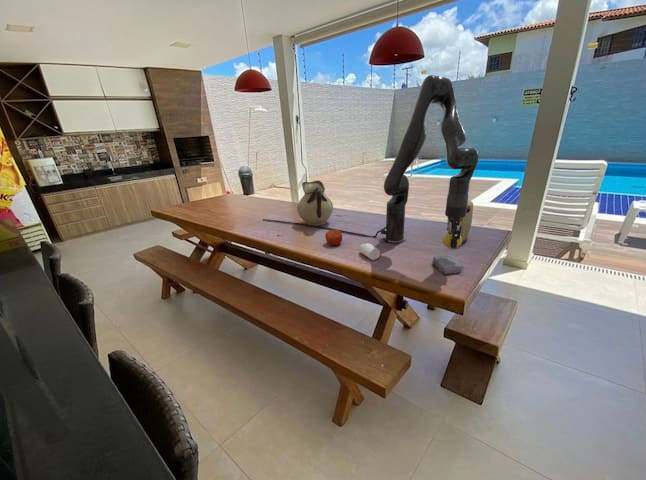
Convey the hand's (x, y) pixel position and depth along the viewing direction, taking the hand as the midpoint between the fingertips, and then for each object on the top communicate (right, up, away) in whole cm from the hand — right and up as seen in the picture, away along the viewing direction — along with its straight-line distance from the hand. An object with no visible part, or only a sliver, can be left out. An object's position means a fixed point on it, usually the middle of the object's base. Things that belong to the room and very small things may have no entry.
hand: (451, 244), depth 124 cm
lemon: (0, -1, 0) cm, 1 cm away
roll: (-31, -4, +21) cm, 38 cm away
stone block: (0, -9, +5) cm, 11 cm away
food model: (+17, +4, +31) cm, 36 cm away
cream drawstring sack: (-57, +18, +70) cm, 92 cm away
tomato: (-47, +3, +36) cm, 59 cm away
